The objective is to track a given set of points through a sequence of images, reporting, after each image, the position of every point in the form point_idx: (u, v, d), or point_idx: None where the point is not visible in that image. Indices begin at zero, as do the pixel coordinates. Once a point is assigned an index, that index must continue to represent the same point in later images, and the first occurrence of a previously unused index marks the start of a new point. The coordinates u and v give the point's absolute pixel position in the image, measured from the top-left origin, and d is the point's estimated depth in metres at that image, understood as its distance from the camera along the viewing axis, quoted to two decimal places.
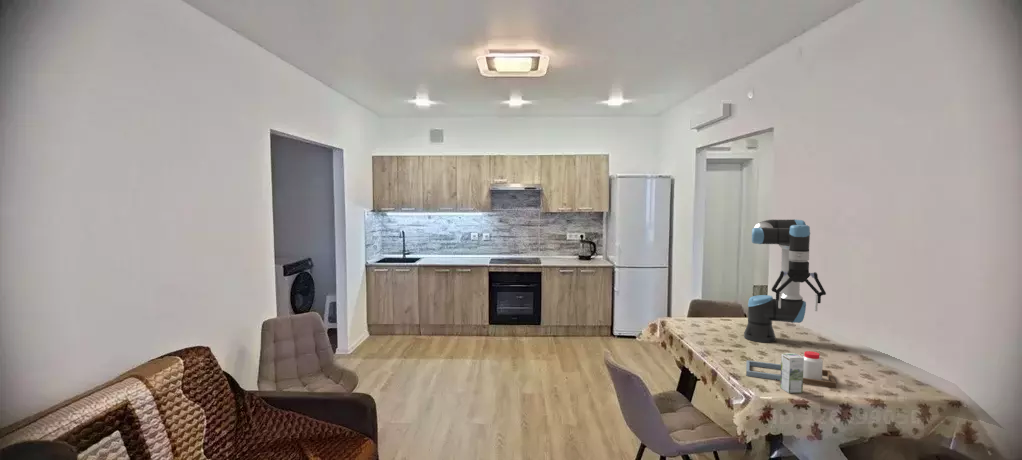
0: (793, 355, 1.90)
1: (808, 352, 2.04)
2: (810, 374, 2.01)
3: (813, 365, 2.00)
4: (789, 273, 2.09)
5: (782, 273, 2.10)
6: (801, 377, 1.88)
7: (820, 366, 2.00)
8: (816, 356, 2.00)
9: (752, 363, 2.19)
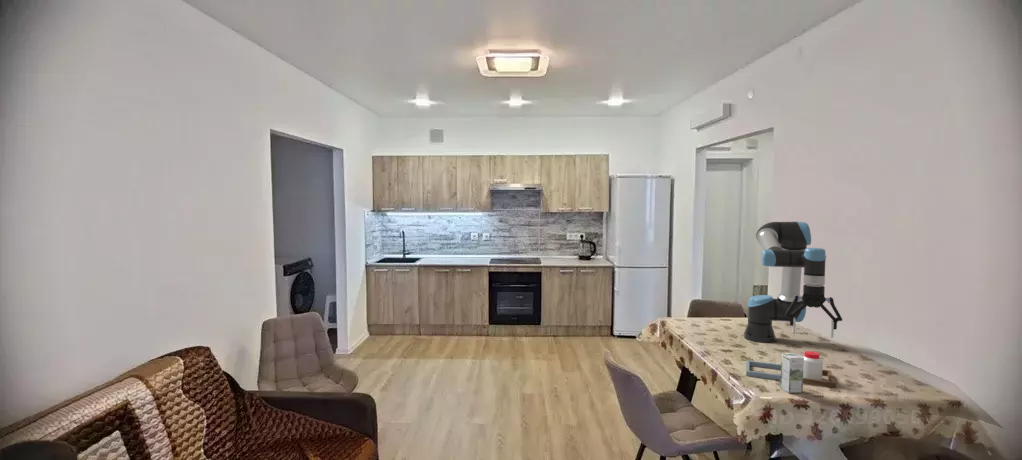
0: (793, 355, 1.90)
1: (808, 352, 2.04)
2: (810, 374, 2.01)
3: (813, 365, 2.00)
4: (804, 298, 2.02)
5: (796, 297, 2.03)
6: (801, 377, 1.88)
7: (820, 366, 2.00)
8: (816, 356, 2.00)
9: (752, 363, 2.19)
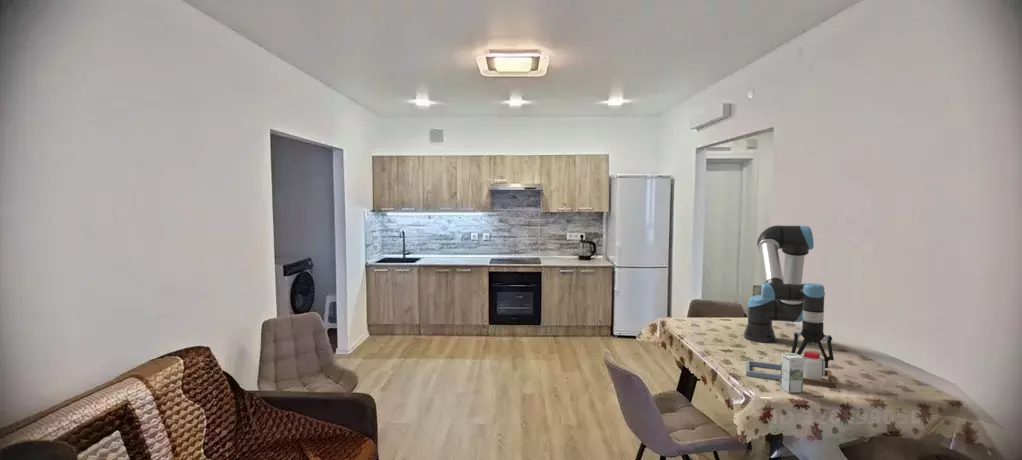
0: (793, 355, 1.90)
1: (808, 352, 2.04)
2: (810, 374, 2.01)
3: (813, 365, 2.00)
4: (803, 333, 2.03)
5: (796, 335, 2.04)
6: (801, 377, 1.88)
7: (820, 366, 2.00)
8: (816, 356, 2.00)
9: (752, 363, 2.19)
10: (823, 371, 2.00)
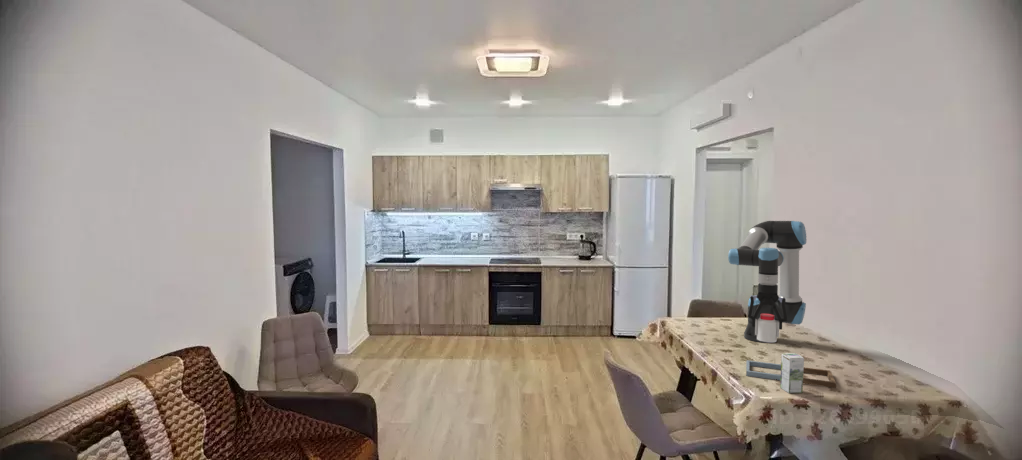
0: (793, 355, 1.90)
1: (764, 314, 2.10)
2: (765, 335, 2.07)
3: (768, 326, 2.06)
4: (758, 296, 2.10)
5: (752, 298, 2.11)
6: (801, 377, 1.88)
7: (774, 327, 2.06)
8: (771, 317, 2.07)
9: (752, 363, 2.19)
10: (777, 332, 2.07)
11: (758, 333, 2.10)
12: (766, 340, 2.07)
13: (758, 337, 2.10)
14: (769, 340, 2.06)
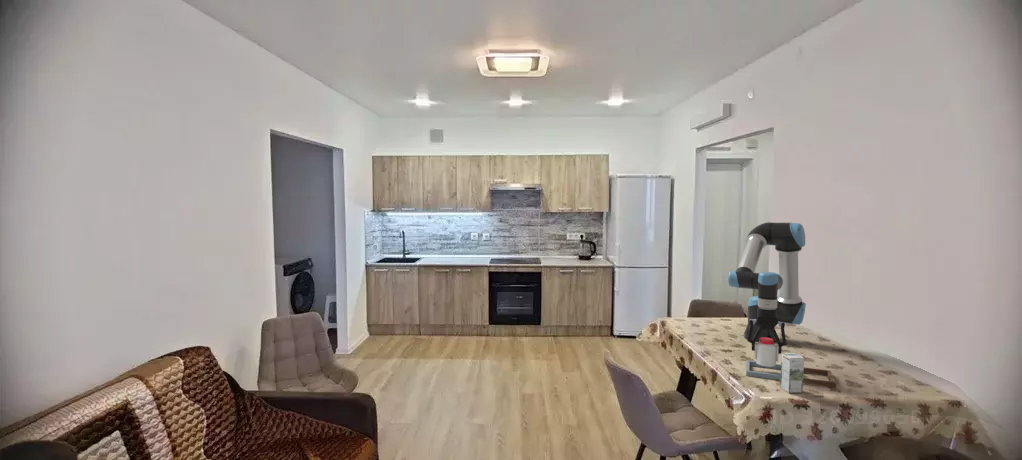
0: (793, 355, 1.90)
1: (763, 338, 2.11)
2: (764, 359, 2.08)
3: (767, 350, 2.07)
4: (758, 320, 2.10)
5: (751, 322, 2.11)
6: (801, 377, 1.88)
7: (774, 351, 2.07)
8: (770, 342, 2.08)
9: (752, 363, 2.19)
10: (777, 356, 2.08)
11: (757, 357, 2.10)
12: (765, 364, 2.08)
13: (757, 361, 2.10)
14: (768, 364, 2.07)
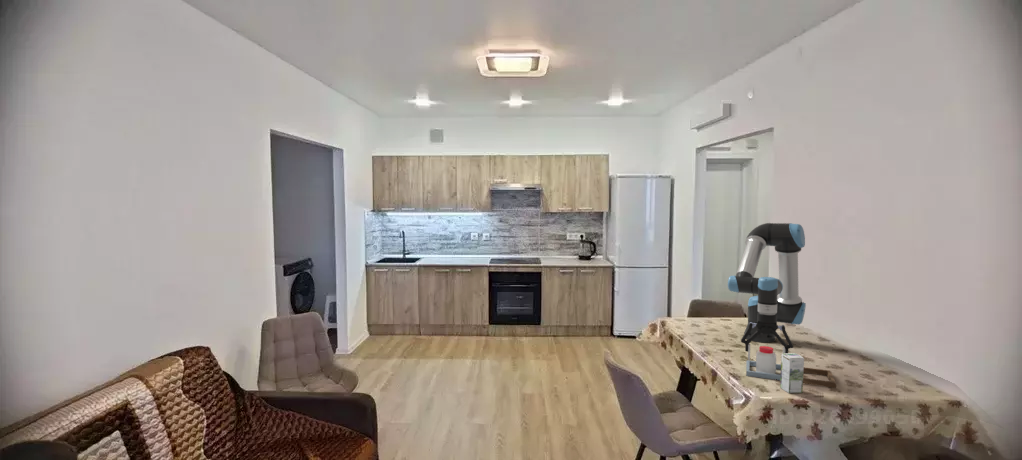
0: (793, 355, 1.90)
1: (763, 347, 2.11)
2: (764, 368, 2.08)
3: (767, 359, 2.07)
4: (758, 325, 2.10)
5: (751, 325, 2.12)
6: (801, 377, 1.88)
7: (773, 360, 2.07)
8: (770, 351, 2.08)
9: (752, 363, 2.19)
10: None
11: (757, 366, 2.11)
12: None
13: (757, 370, 2.11)
14: None
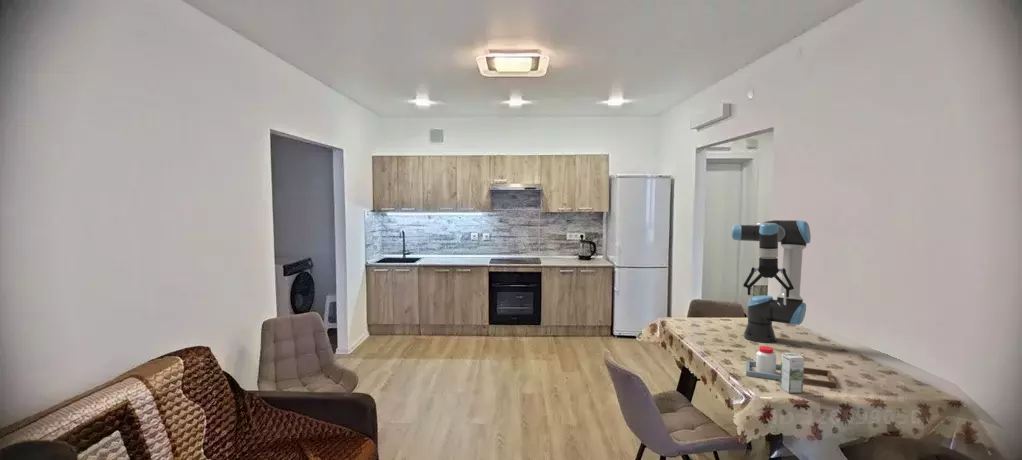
0: (793, 355, 1.90)
1: (763, 347, 2.11)
2: (764, 368, 2.08)
3: (767, 359, 2.07)
4: (759, 269, 2.19)
5: (753, 269, 2.20)
6: (801, 377, 1.88)
7: (773, 360, 2.07)
8: (770, 351, 2.08)
9: (752, 363, 2.19)
10: (784, 300, 2.16)
11: (757, 366, 2.11)
12: None
13: (757, 370, 2.11)
14: None
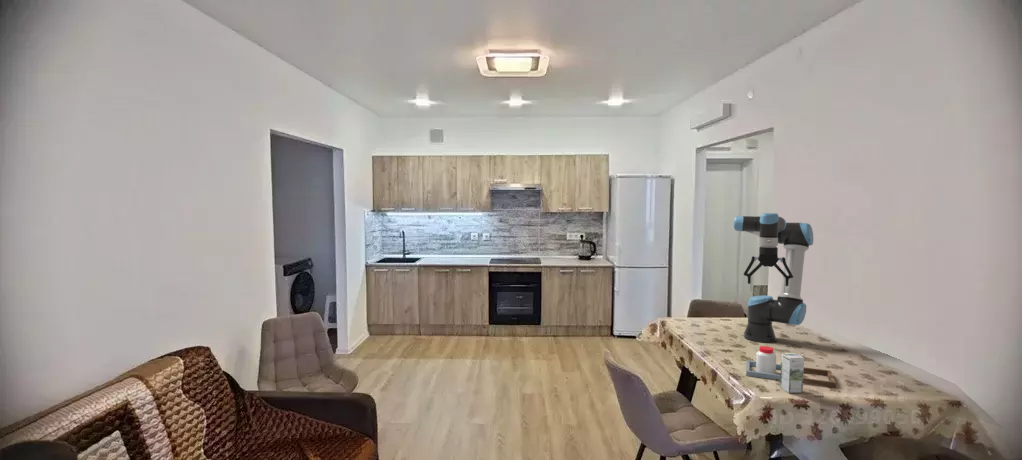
0: (793, 355, 1.90)
1: (763, 347, 2.11)
2: (764, 368, 2.08)
3: (767, 359, 2.07)
4: (759, 258, 2.24)
5: (753, 258, 2.25)
6: (801, 377, 1.88)
7: (773, 360, 2.07)
8: (770, 351, 2.08)
9: (752, 363, 2.19)
10: (784, 288, 2.20)
11: (757, 366, 2.11)
12: None
13: (757, 370, 2.11)
14: None
